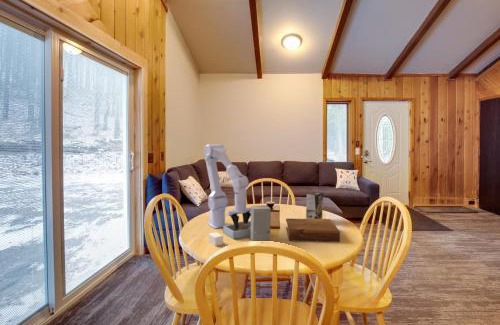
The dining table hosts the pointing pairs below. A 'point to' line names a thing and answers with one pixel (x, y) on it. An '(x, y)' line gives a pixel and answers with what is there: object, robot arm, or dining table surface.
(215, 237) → the cream box
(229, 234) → the tote
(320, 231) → the brown flat block
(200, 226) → the dining table surface
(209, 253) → the dining table surface
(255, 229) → the skincare box
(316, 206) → the coffee box
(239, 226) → the walnut block
